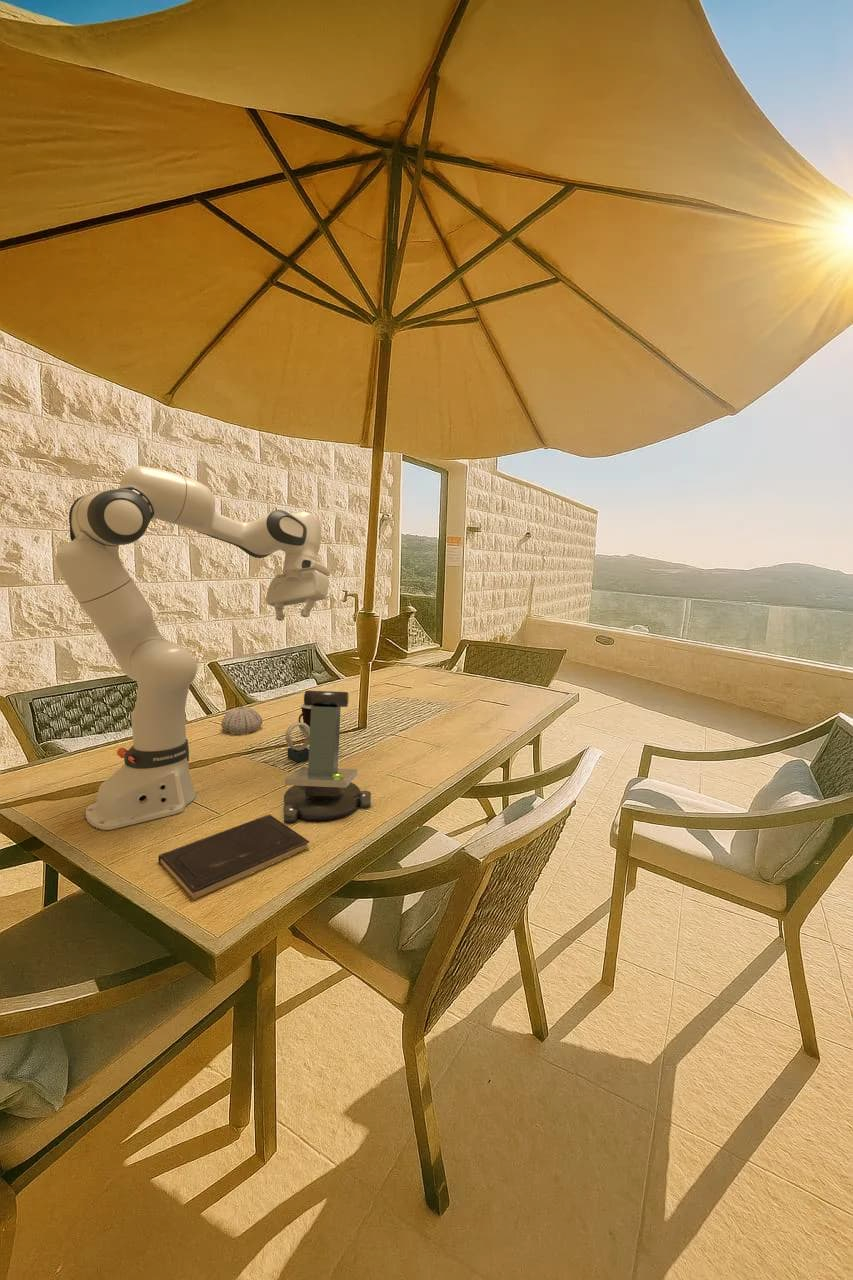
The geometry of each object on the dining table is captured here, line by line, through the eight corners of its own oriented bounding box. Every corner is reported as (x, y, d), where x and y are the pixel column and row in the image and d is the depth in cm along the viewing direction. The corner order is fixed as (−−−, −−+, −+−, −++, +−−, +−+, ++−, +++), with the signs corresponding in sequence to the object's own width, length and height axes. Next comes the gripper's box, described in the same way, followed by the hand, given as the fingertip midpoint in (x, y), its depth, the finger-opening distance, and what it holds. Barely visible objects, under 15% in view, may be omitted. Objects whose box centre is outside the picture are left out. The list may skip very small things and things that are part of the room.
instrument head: (301, 772, 128) (306, 689, 129) (356, 775, 128) (360, 691, 129) (284, 785, 114) (289, 691, 115) (346, 787, 114) (350, 693, 115)
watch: (316, 758, 150) (316, 722, 148) (292, 765, 144) (291, 728, 143) (305, 753, 154) (305, 718, 152) (282, 759, 148) (281, 723, 147)
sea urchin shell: (253, 721, 183) (252, 700, 182) (268, 731, 173) (268, 708, 172) (215, 728, 175) (214, 706, 174) (229, 739, 164) (228, 715, 163)
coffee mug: (319, 728, 178) (319, 700, 176) (332, 734, 171) (332, 706, 170) (288, 734, 170) (288, 705, 169) (300, 741, 164) (299, 711, 162)
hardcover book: (309, 851, 102) (309, 840, 102) (193, 904, 86) (192, 891, 85) (268, 822, 113) (268, 813, 113) (158, 864, 97) (158, 853, 96)
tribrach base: (298, 783, 132) (298, 763, 131) (376, 787, 131) (376, 767, 131) (271, 823, 112) (270, 799, 111) (363, 827, 111) (363, 803, 110)
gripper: (264, 571, 141) (256, 618, 138) (318, 559, 131) (311, 610, 127) (282, 579, 146) (274, 625, 143) (335, 569, 136) (328, 618, 132)
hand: (292, 618), depth 135 cm, fingers open, 8 cm apart
